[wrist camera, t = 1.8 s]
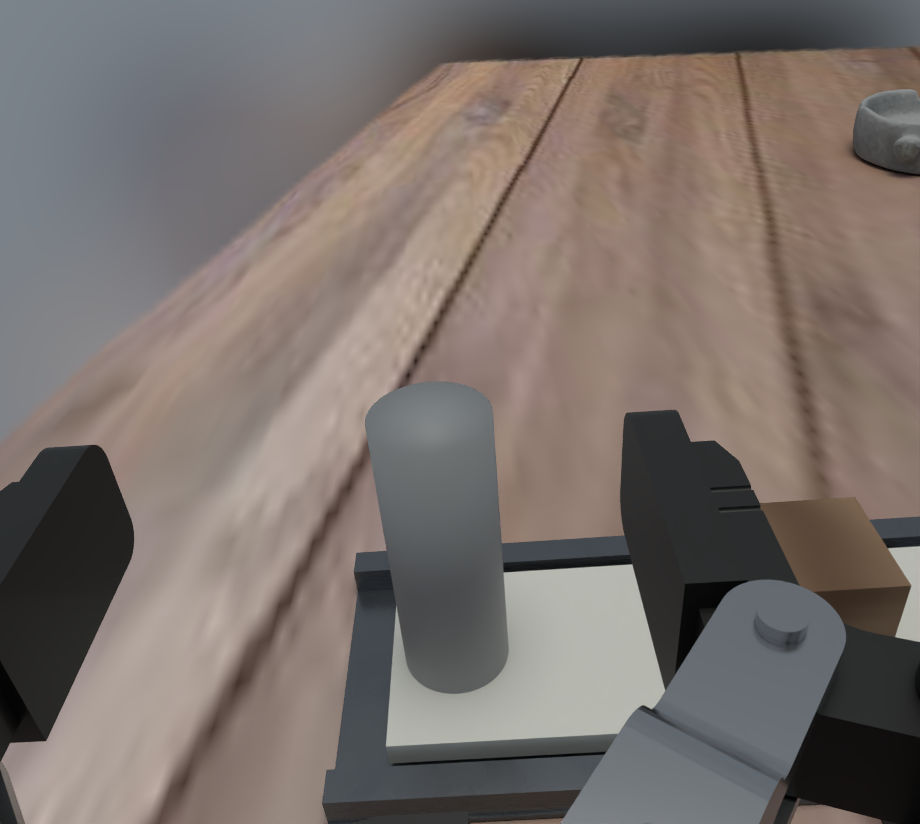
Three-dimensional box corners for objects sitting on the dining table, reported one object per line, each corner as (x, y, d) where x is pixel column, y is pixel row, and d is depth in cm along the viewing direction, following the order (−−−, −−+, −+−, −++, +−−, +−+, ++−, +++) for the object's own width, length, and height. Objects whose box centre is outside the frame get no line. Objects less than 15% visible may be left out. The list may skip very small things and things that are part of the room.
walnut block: (833, 583, 33) (854, 497, 30) (882, 675, 29) (911, 585, 27) (721, 589, 33) (733, 505, 31) (755, 682, 29) (772, 594, 27)
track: (1119, 525, 36) (1131, 501, 36) (1371, 774, 26) (1396, 749, 26) (361, 573, 38) (356, 551, 37) (328, 829, 28) (321, 806, 27)
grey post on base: (914, 563, 35) (995, 310, 28) (1024, 728, 28) (1163, 448, 21) (400, 595, 36) (361, 357, 29) (389, 763, 29) (334, 504, 22)
